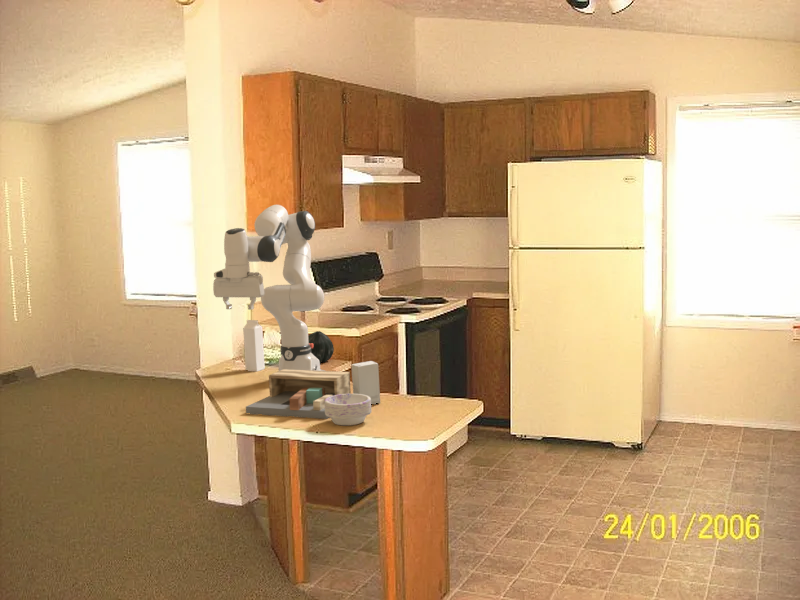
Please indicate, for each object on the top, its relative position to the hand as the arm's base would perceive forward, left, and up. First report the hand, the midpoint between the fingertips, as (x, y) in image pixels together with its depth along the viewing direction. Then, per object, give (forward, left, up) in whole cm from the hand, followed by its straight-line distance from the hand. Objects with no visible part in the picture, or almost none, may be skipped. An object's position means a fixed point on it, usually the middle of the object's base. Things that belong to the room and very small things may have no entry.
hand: (240, 309), depth 321 cm
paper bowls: (+26, +55, -33) cm, 69 cm away
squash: (-69, -4, -33) cm, 77 cm away
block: (+12, +36, -31) cm, 49 cm away
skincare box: (+2, +51, -33) cm, 61 cm away
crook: (+16, +35, -31) cm, 49 cm away
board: (+11, +30, -33) cm, 46 cm away
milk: (-46, -23, -33) cm, 61 cm away
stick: (+18, +42, -31) cm, 55 cm away
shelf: (+3, +30, -31) cm, 43 cm away
